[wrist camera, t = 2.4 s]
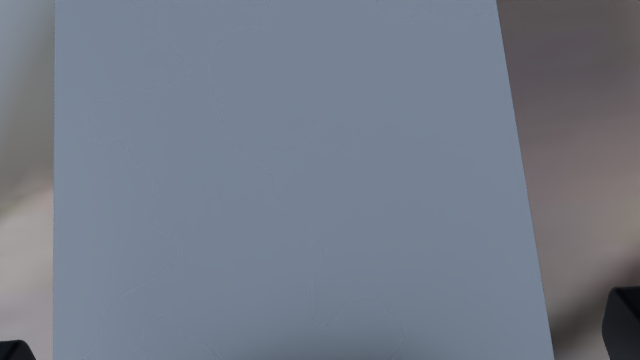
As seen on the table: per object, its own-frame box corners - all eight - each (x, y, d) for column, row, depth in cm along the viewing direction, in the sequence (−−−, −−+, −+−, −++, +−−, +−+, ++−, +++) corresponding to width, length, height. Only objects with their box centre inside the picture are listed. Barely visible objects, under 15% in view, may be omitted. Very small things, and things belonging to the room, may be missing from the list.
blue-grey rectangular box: (421, 345, 18) (564, 419, 6) (253, 360, 18) (53, 461, 6) (402, 180, 19) (487, -48, 7) (243, 195, 19) (55, -2, 7)
